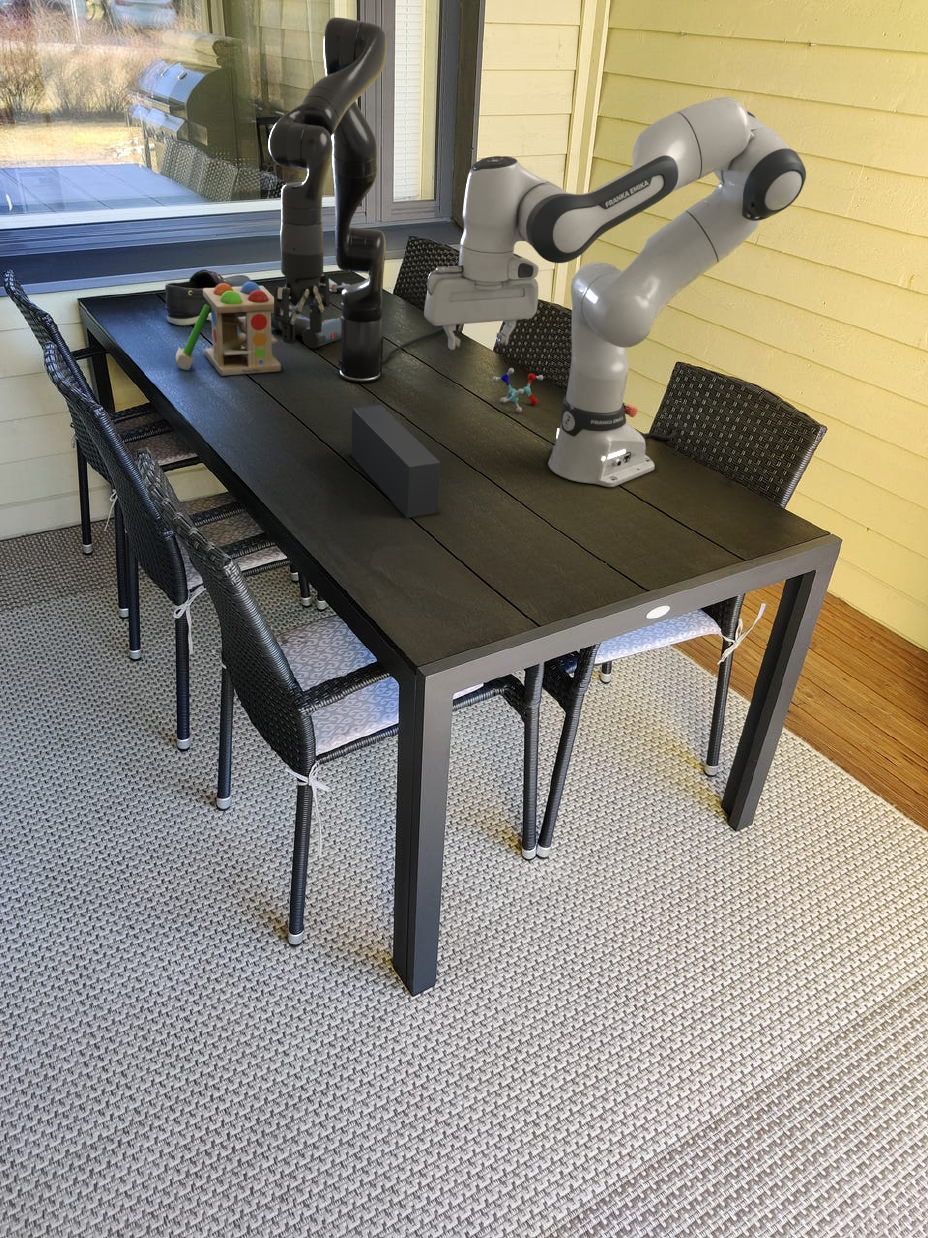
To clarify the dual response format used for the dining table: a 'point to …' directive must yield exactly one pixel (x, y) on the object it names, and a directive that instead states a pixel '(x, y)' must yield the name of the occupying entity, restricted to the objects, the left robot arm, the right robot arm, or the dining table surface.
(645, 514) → the dining table surface
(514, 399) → the molecular model
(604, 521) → the dining table surface
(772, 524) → the dining table surface
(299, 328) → the power drill
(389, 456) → the box
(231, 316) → the pounding bench toy
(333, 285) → the clamp
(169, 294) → the boat shoe
